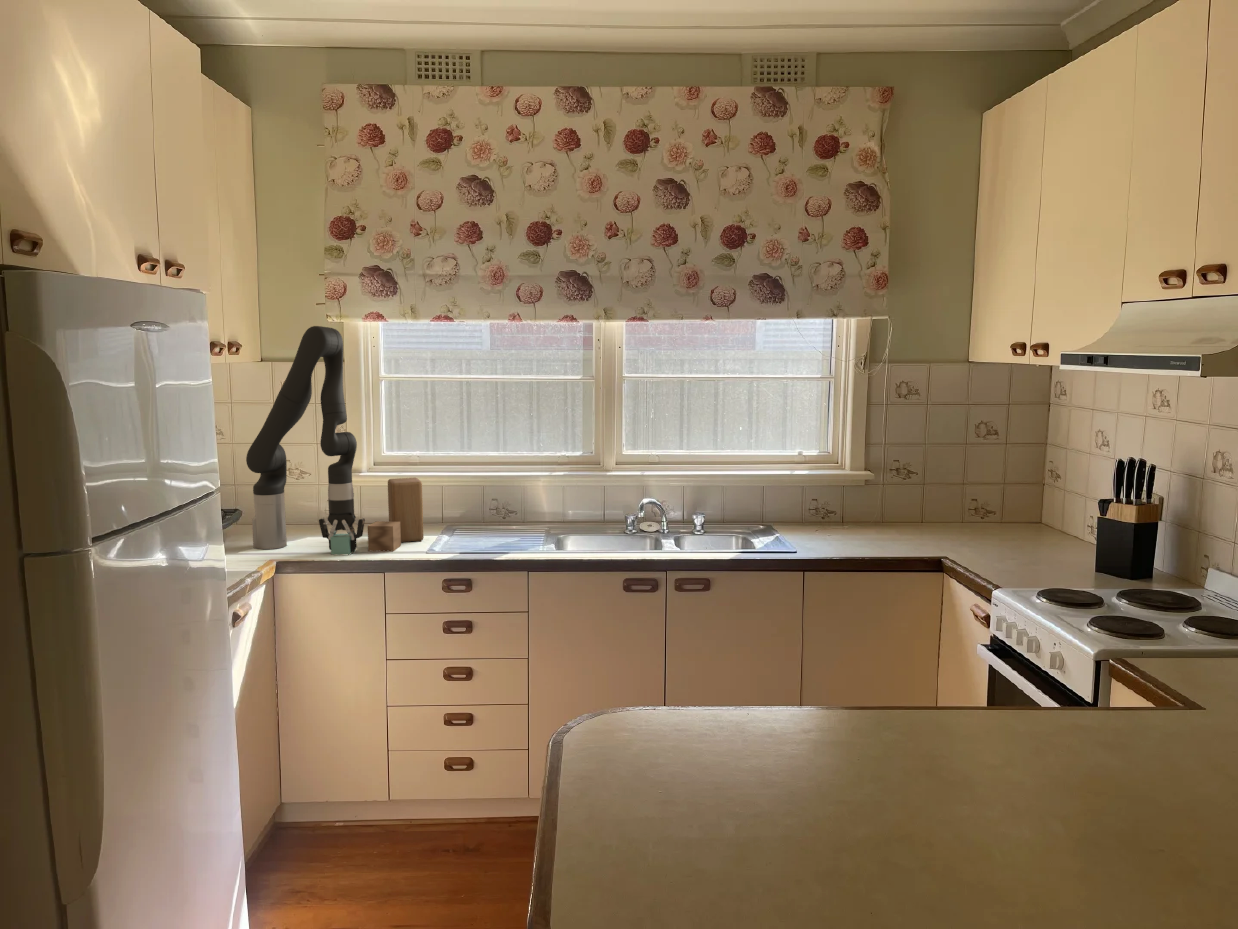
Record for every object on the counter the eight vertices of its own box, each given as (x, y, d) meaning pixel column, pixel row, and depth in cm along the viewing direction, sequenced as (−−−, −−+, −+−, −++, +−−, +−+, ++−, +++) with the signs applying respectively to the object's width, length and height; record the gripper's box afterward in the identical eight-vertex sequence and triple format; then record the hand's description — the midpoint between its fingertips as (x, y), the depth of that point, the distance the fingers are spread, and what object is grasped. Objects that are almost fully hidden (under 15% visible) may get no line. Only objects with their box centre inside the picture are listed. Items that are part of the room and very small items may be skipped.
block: (389, 537, 308) (387, 478, 306) (419, 535, 312) (417, 477, 309) (393, 543, 299) (391, 482, 297) (424, 541, 303) (422, 480, 300)
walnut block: (368, 551, 288) (367, 526, 287) (376, 546, 296) (375, 521, 295) (393, 551, 288) (392, 526, 287) (400, 546, 295) (400, 521, 294)
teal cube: (331, 554, 283) (330, 537, 282) (337, 551, 288) (336, 533, 287) (348, 555, 282) (348, 537, 282) (354, 551, 288) (354, 533, 287)
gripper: (313, 499, 280) (315, 553, 282) (360, 499, 279) (362, 554, 281) (322, 495, 287) (324, 548, 289) (367, 495, 287) (369, 548, 289)
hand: (343, 551), depth 285 cm, fingers closed on teal cube, 5 cm apart
